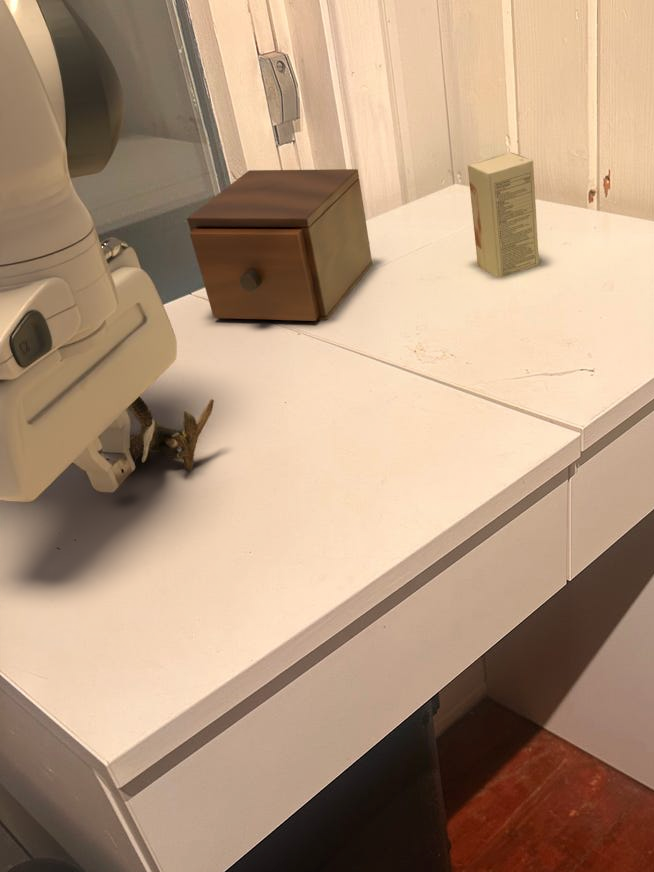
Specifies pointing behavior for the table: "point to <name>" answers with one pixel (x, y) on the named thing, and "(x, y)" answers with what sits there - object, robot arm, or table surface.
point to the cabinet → (303, 221)
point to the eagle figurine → (166, 434)
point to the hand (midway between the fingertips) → (116, 480)
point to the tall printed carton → (504, 213)
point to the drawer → (256, 272)
